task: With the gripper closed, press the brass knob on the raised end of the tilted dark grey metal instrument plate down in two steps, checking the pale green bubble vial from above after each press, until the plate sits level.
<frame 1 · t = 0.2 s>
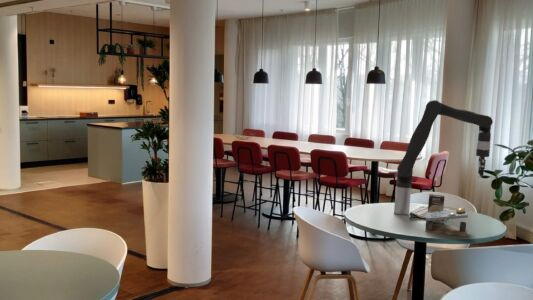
hand: (480, 174, 331), 29 cm above the table, tool pointing down, fingers open, 8 cm apart
coffee box: (434, 221, 330), on the table
walnut base: (445, 230, 310), on the table
level plate: (446, 213, 309), point 10 cm above the table, hinge at -12.0°
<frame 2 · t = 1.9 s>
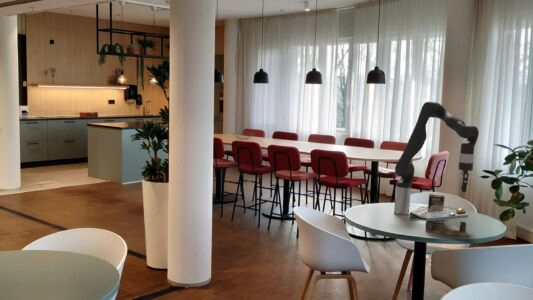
hand: (463, 190, 305), 24 cm above the table, tool pointing down, fingers open, 6 cm apart
nothing on the table moved.
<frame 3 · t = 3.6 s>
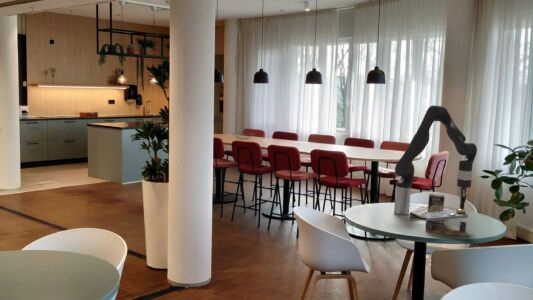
hand: (461, 208, 306), 14 cm above the table, tool pointing down, fingers closed
level plate: (446, 213, 309), point 10 cm above the table, hinge at -11.7°, touching gripper
everything else where it was.
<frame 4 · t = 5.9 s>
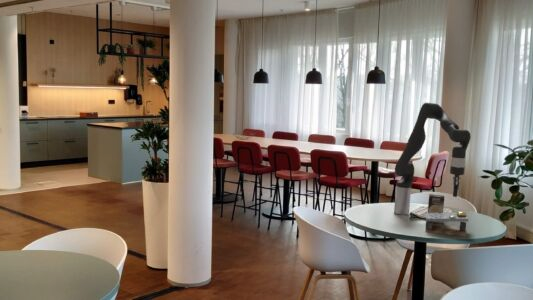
hand: (454, 196, 302), 21 cm above the table, tool pointing down, fingers closed
level plate: (446, 215, 309), point 9 cm above the table, hinge at -6.1°
everything else where it was.
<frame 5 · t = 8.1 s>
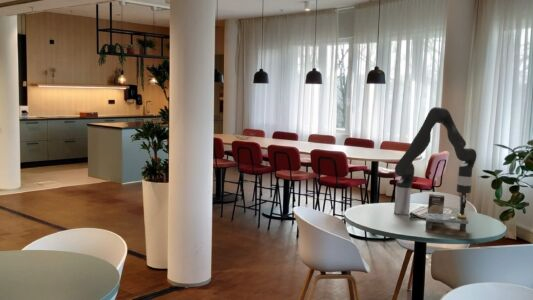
hand: (461, 214, 307), 10 cm above the table, tool pointing down, fingers closed
level plate: (446, 216, 309), point 8 cm above the table, hinge at -2.6°, touching gripper
everything else where it was.
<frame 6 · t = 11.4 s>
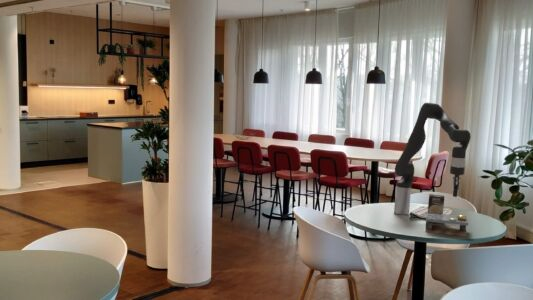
hand: (454, 196, 302), 21 cm above the table, tool pointing down, fingers closed
level plate: (446, 217, 309), point 8 cm above the table, hinge at -0.2°
everything else where it was.
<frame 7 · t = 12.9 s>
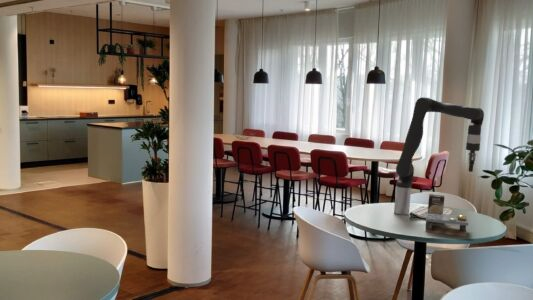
hand: (470, 171, 319), 33 cm above the table, tool pointing down, fingers closed
nothing on the table moved.
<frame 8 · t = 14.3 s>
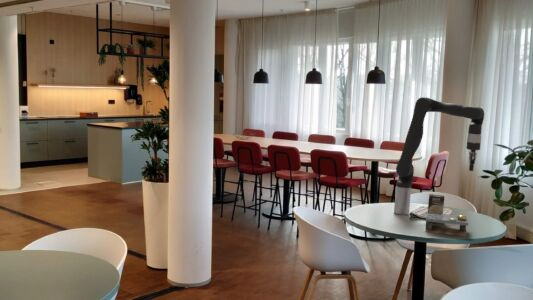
hand: (471, 170, 320), 33 cm above the table, tool pointing down, fingers closed
nothing on the table moved.
at the end: level plate at +0° (first picture: -12°); coffee box moved 0.2 cm from its start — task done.
